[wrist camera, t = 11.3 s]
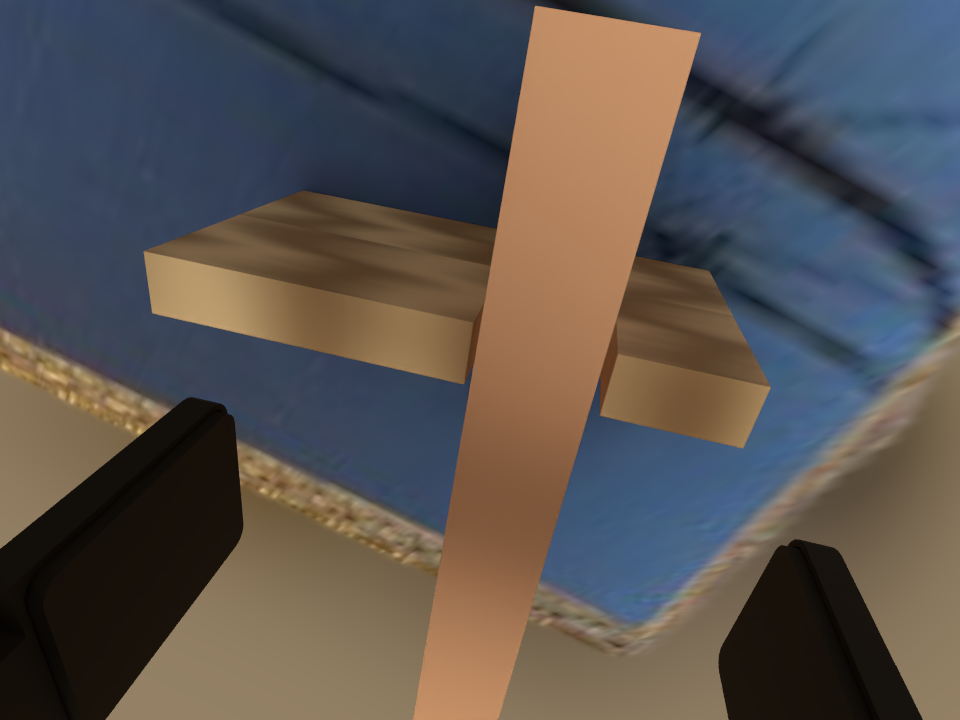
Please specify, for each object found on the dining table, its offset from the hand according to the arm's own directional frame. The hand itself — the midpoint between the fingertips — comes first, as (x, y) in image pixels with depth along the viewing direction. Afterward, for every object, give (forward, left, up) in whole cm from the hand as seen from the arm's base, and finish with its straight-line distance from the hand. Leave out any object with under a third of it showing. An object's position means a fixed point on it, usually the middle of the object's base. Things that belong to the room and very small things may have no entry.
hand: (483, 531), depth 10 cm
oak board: (-3, 0, -17) cm, 17 cm away
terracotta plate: (0, 0, -17) cm, 17 cm away
